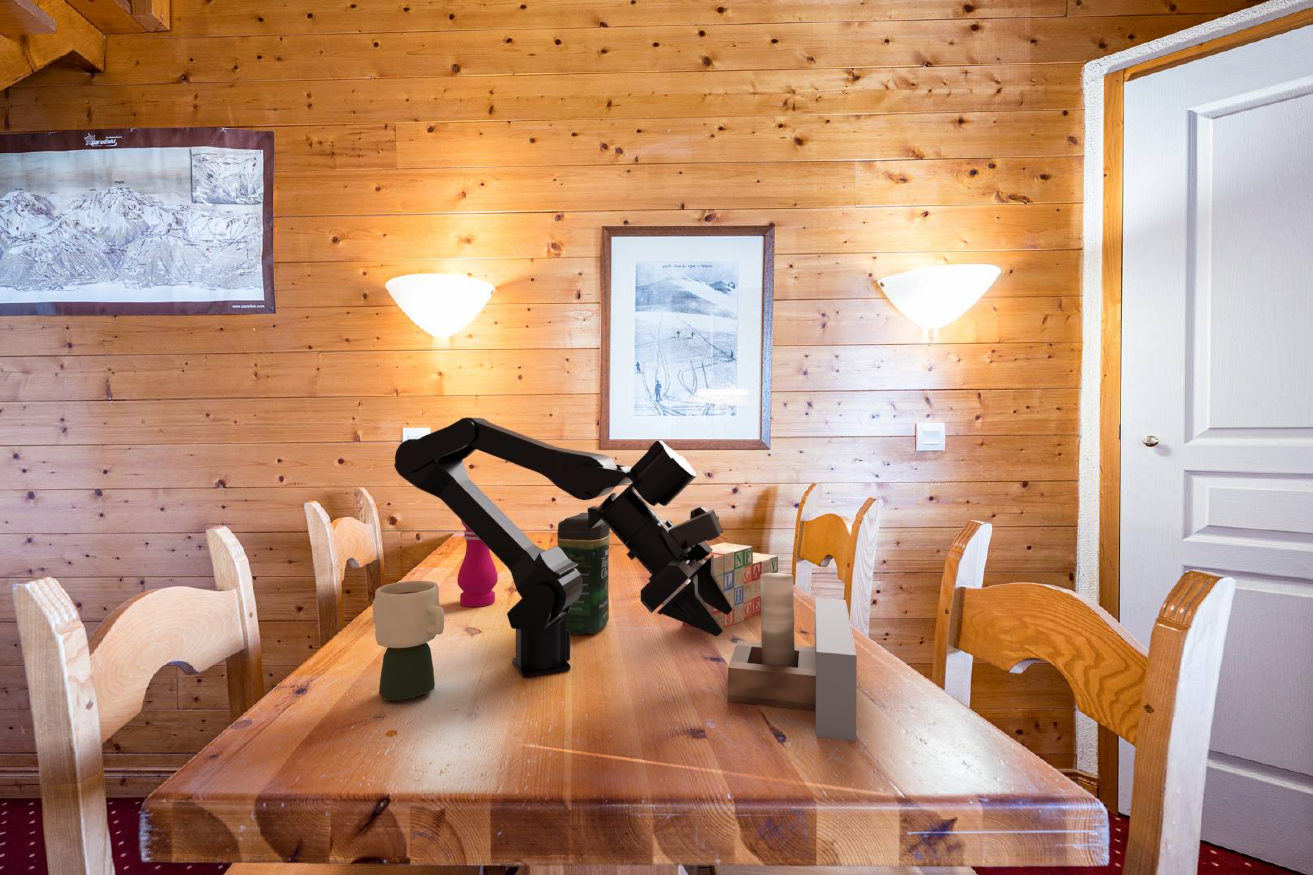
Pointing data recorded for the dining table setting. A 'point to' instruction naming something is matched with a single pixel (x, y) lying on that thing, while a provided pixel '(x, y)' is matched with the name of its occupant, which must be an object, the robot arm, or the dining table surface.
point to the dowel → (777, 619)
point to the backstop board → (835, 671)
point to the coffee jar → (587, 572)
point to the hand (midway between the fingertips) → (725, 622)
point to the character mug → (407, 636)
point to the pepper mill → (476, 573)
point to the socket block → (772, 678)
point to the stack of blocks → (739, 580)
